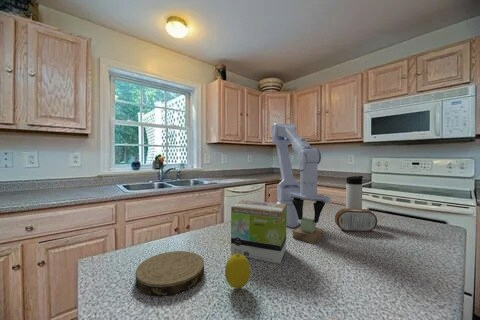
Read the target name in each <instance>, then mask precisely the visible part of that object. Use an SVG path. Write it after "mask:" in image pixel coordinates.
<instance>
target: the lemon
mask: <svg viewBox="0 0 480 320" xmlns="http://www.w3.org/2000/svg"><path fill="white" fill-rule="evenodd" d="M249 263H250V262H249V259H247V257H244V256H243V255H241V254H239V253H236V254H234V255H231V256H229V258H228V259H227V261H226V264H225V270H224V275H225V280H226V282H227V284H229V286H230V287H232V288H234V289H236V290H240V289H242V288H244V287H245V286H246V285H247V283H248V282H249V280H250V277H251V268H250V267H251V266H250V264H249Z"/></svg>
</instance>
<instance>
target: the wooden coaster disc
mask: <svg viewBox="0 0 480 320" xmlns="http://www.w3.org/2000/svg"><path fill="white" fill-rule="evenodd" d="M204 276H205V260H204V259H203V258H202V256H201V255H200V254H197V253H195V252H190V251H185V250H183V251H182V250H176V251H174V250H173V251H169V252H162V253H159V254H156V255H153V256H150V257H149V258H147V259H145V260H143V261H142V262H141V263H140V264H139V265H138V266H137V267H136V270H135V287H136V290H138V291H139V292H140V293H141V294H143V295H145V296H148V297H152V296H153V297H155V298H166V297H165V296H167V297H174V296H177V295H176V294H178V295H180V293H181V294H183V293H182V292H184V293H186V292H188V291H190V290H192V289H194V288H196V287H197V286H198V285H199V284H200V283H201V282H202V280H203V279H204ZM193 287H194V288H193ZM173 295H174V296H173Z"/></svg>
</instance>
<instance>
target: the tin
mask: <svg viewBox="0 0 480 320" xmlns="http://www.w3.org/2000/svg"><path fill="white" fill-rule="evenodd" d="M334 222H335V224H336V226H337V227H338V228H340V230H343V231H345V232H361V233H363V232H365V233H369V232H371V231H374V230H375V229H376V227H377V225H378V218H377V216H376V214H375V213H374V212H372V210H369V209H366V208H362V209H346V208H342V209H340V210H338V211H337V212H336V214H335V216H334Z"/></svg>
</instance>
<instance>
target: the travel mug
mask: <svg viewBox="0 0 480 320" xmlns="http://www.w3.org/2000/svg"><path fill="white" fill-rule="evenodd" d="M363 178H364V176H363V175H358V176H356V175H355V176H348V177H346V180H345V181H346V183H345V184H346V187H345V191H346V192H345V209H363Z"/></svg>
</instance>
